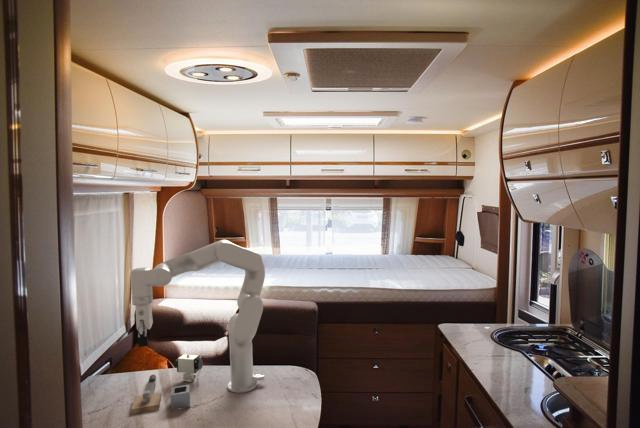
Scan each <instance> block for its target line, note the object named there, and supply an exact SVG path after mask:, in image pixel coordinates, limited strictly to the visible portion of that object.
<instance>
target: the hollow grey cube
mask: <svg viewBox="0 0 640 428" xmlns="http://www.w3.org/2000/svg"><path fill="white" fill-rule="evenodd" d="M170 389H171V390H170V396H169V397H170V410H171V411H174V410H173V409H177V410H180V409H179V408H183V409H187V408H186V407H188V408H191V385H190V384H185V385H184V384H183V385H178V386H172V387H171V388H170Z"/></svg>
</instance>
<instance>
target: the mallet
mask: <svg viewBox="0 0 640 428" xmlns="http://www.w3.org/2000/svg"><path fill="white" fill-rule="evenodd" d="M156 381H157V376H156V374H151V375H150V376H149V378H148V381H147V384H146V388H145V390H144V391H143V392H142V394H141V395H137V396H136V395H135V397H134V399H133V402H132V406H131V408H130V410H131V411H130V413H131V415H133V414H139V413H140V414H141V413H146V412H151V410H152V411H157V410H156V409H158V410H160V409H159V408H160V407H161V403H160V402H162V398H161V397H163V396H162V392H155V388H156Z"/></svg>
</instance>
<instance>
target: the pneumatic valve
mask: <svg viewBox="0 0 640 428" xmlns="http://www.w3.org/2000/svg"><path fill="white" fill-rule="evenodd" d="M203 364H204V361H203V359H201V355H199V354H198V355H197V354H189V353H187V354H184V353H183V354H180V355H179V356H178V357H177V358H175V360H174V362H173V367H174V368H175V369H176V372H177V373H182V374H183V375H182V379H183V382H184V381H188V382H187V383H192V382H193V381H195V380H196V377H197V376H196V374H197V372H199V370H202V368H203Z"/></svg>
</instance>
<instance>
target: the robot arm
mask: <svg viewBox="0 0 640 428" xmlns="http://www.w3.org/2000/svg"><path fill="white" fill-rule="evenodd" d="M219 263H223V264H226V265H228V266H231V267H235V268H237V269H241V270H244V278H243V281H242V285H241V289H240V292H239V294H238V297H237V301H236V302H237V305H236V306H237V307H238V309H239V310H238V313H235V314H233V315H232V316H231V317H230V318H229V320H228V324H227V330H228V331H227V332H228V339H229V341H228V342H229V362H230V381H229V382H228V383H227V390H228V391H230V392H231V393H235V394H243V393H248V392H250V391H252V390H254V389H256V387H257V386H258V381H264V380H265V375H264V374H263V375H261V373H258V374H255V373H254V365H253V364H254V362H253V360H254V359H253V339H254V337H255V336H256V333H257V330H258V327H259V324H260V321H261V317H262V314H263V312H264V302H263V300H262V297H261V293H262V291H263V287H264V282H265V280H266V279H265V277H266V269H265V265H264V262H263V257H262V255H261V254H260V253H259V252H258V251H256V250H255V249H253V248H250V247H243V246H240V245H237V244H235V243H233V242H231V241H229V240H227V239H220V240H218V241H215V242H213V243H209V244H208V245H204V246H202V247H200V248H197V249H196V250H193V251H189V252H187V253H184V254H180V255H178V256H176V257H173V258H171V259H168V260H166V261H163V262H161V263H158V264H156V266H155V267H154V268H149V267H138V268H133V269H131V271H130V285H131V286H130V287H131V302H132V303H131V305H132V306H135V322H136V323H135V325H136V330H137V331H138V333H137V334H138V335H137V340H138V341H137V342H138V347H139V348H142V347H144V348H145V347H147V346H149V343H148V342H149V341H148V340H149V339H148V338H151V337H152V331H151V329H152V326H153V323H154V320H153V308H152V304H153V303H154V297H153V296H154V294H153V293H154V292H153V287H165V286H167V285H169V284H170V283H171V282H172V279H173V278H174V277H177V276H179V275H181V274H185V273H189V272H199V271H203V270H205V269H208V268H209V267H212V266H214V265H216V264H219Z"/></svg>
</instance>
